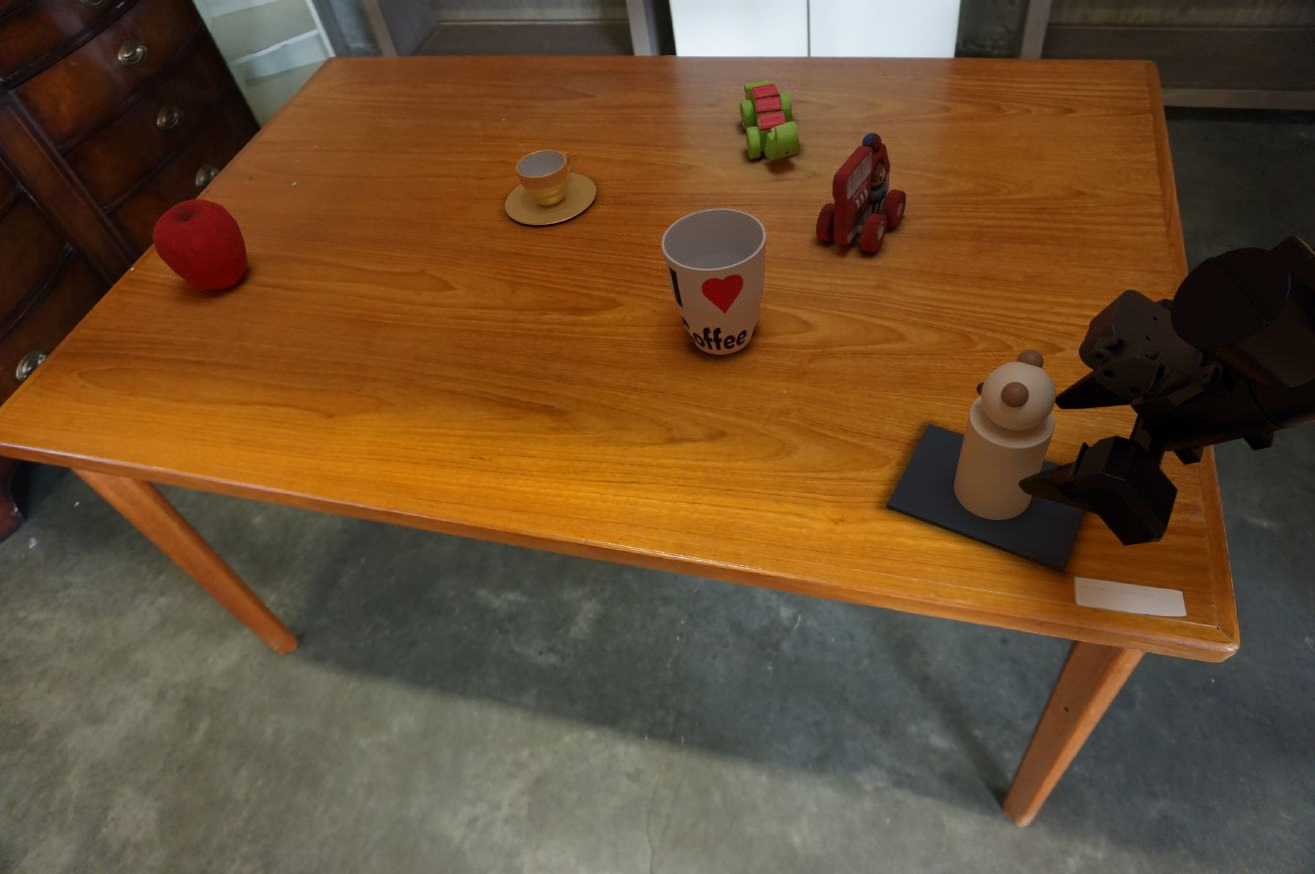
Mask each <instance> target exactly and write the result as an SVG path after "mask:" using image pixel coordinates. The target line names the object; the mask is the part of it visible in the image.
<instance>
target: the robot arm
mask: <svg viewBox="0 0 1315 874" xmlns="http://www.w3.org/2000/svg"><path fill="white" fill-rule="evenodd" d="M1088 326H1089V327H1088V329H1087V331H1086V335H1085V336H1084V339H1083V341H1082V342H1081V343H1080V345H1079V348H1078V356H1079V358H1080V360H1081V362H1082V363H1083V364H1084V365H1085V366H1086V367H1087V368H1089V369H1091V370H1092V371H1090V372H1089V373H1087V374H1086V375H1084V376H1083V377H1081V378H1080V379H1078V380H1077V381H1076V382H1074V383H1073V384H1071V385H1070V386H1068V387H1067V388H1065V389H1064V390H1063V391H1061V392H1060V393H1058V394H1056V399H1055V405H1056V406H1057V407H1058V408H1059V409H1060V410H1087V409H1099V408H1110V407H1111V408H1112V407H1121V406H1130V407H1131V408H1132V410H1133V412H1135V413H1136V414H1137V415H1136V418H1135V421H1134V424H1133V427H1132V429H1131V433H1130V436H1129V438H1126V437H1123V436H1119V435H1112V436H1108V437H1104V438H1103V437H1102V438H1100V439H1098V440H1097V441H1096V442H1095V443H1094V444H1092V445H1089V444H1088V443H1087V442H1086V441H1083V442H1082V443H1081V445H1080V448H1079V451H1078V453H1077V456H1076V458H1075V460H1074V461H1070V462H1068V463H1065V464H1062V465H1061V466H1058V467H1055V468H1052V469H1049V470H1046V471H1043V472H1040V473H1036V474H1034V475H1031V476H1029V477H1027V478H1024V479H1022V480H1020V481H1019V484H1018V485H1019V487H1020V488H1021V489H1022V490H1023V491H1024V492H1025V493H1026V494H1029V495H1032V496H1036V497H1040V498H1043V499H1047V500H1051V501H1054V502H1058V503H1061V504H1065V505H1069V506H1073V507H1076V508H1079V509H1082V510H1085V511H1086V512H1088V513H1091V514H1093V515H1095V516H1098V517H1099V518H1100V520H1101V521H1102V522H1103V523H1104V524H1105V525H1106V527H1107V528H1108V529H1109V530H1110V531H1111V532H1112V533H1113V534H1114V536H1115V537H1116V538H1117V540H1118V541H1119V542H1120V543H1121V544H1122V545H1123V547H1126V546H1135V545H1143V544H1150V543H1151V544H1152V543H1158V542H1161V541H1162V540H1163V537H1164V536H1165V533H1166V532H1167V530H1168V527H1169V524H1170V520H1171V516H1172V513H1173V509H1174V505H1175V502H1176V500H1177V495H1178V491H1179V489H1178V488H1177V487H1176V485H1175V484H1174V483H1173V482H1172V480H1171V479H1170V478H1169V477H1168V476H1167V474H1166V473H1165V472H1164V471H1163V470H1162V469H1161V468H1162V464H1163V461H1164V458H1165V454H1166V453H1170V452H1173V453H1174V454H1175V456H1176V457H1177V458H1178V459H1179V460H1180V462H1181V463H1182V465H1184V466H1187V465H1191V464H1192V465H1193V464H1196V463H1197V464H1198V463H1200V462H1201V461H1202V457H1203V453H1204V451H1205V447H1209V446H1210V447H1211V446H1213V445H1219V444H1223V443H1228V442H1232V441H1236V440H1242V439H1243V440H1244V441H1245V442H1246V444H1247V445H1248V446H1249V447H1250V449H1251V451H1253V452H1255V451H1259V450H1264V449H1268V448H1272V447H1273V444H1274V443H1273V442H1274V438H1275V433H1276V432H1278V431H1281V430H1287V429H1291V428H1295V427H1299V426H1305V425H1308V424H1314V423H1315V247H1313V248H1311V247H1310V246H1309V245H1308V244H1307V243H1306V242H1305V241H1304V240H1303V239H1301V237H1299V236H1297V235H1296V234H1293V235H1289V236H1287V237H1286V238H1285V239H1283V240H1282V241H1281V242H1279V243H1278V244H1277V245H1275V246H1274V247H1272V248H1271V249H1268V248H1263V247H1262V248H1261V247H1255V246H1253V247H1251V246H1249V247H1239V248H1235V249H1232V250H1228V251H1225V252H1223V253H1221V254H1219V255H1216V256H1210V257H1207V258H1206V259H1204V260H1203V261H1201V262H1200V263H1199V264H1198V265H1196V266H1195V267H1194V268H1193V269H1192V270H1191V271H1190V272H1189V273H1188V274H1187V275H1186V276H1185V278H1184V279H1183V280H1182V281H1181V283H1180V284H1179V286H1178V288H1177V290H1176V292H1175V294H1174V296H1173V299H1169V298H1162V299H1159V300H1157V301H1154V300H1153V299H1151V298H1149V297H1148V296H1146V295H1145V294H1143V293H1141V292H1139V291H1138V290H1134V289H1126V290H1124V291H1123V292H1122V293H1121V294H1120V295H1118V296H1116V298H1115V299H1114V300H1113V301H1111V302H1110V303H1109V304H1108V305H1107V306H1106V307H1104V308H1103V309H1102V310H1101V311H1100V312H1098V314H1096V315H1095V316H1094V317H1093V318H1092V319H1090V321H1089V324H1088ZM1085 511H1084V512H1085Z"/></svg>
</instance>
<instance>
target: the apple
mask: <svg viewBox="0 0 1315 874" xmlns="http://www.w3.org/2000/svg"><path fill="white" fill-rule="evenodd" d="M151 239H152V241H153V245H154V248H155V251H156V253H157V255H158V257H159V258H160V259H161V260H162V261H163V262H164V263H165V264H166V265H167V266H168V267H169V268H170V269H171V271H173V272H174V273H175V274H176V275H177V276H178V277H180V278H182V279H183V280H184V281H185V282H187V283H189V284H190V285H191V286H192V287H194V288H196V289H199V290H226V289H229V288H231V287H234V286H235V285H236V284H238V283H239V282H240V281H241V279H242V278H243V275H244V274H245V271H246V269H247V265H248V255H247V250H246V249H247V248H246V242H245V241H246V240H245V239H244V236H243V234H242V231H241V229H240V226H239V223H238V222H237V220H236V219H235V218H234V216H233V215H232V214H231V213H230V212H229V211H228V210H227V209H226V207H225V206H223V205H221V204H219V203H217V202H214V201H210V200H207V199H201V198H194V199H193V198H192V199H187V200H183V201H181V202H178V203H177V204H175V205H174V206H172V207H170V208H169V209H168V210H167V211H165V212H164V213H163V214H161V216H160V217H159V219H158V220H157V221H156V223H155V226H154V228H153V231H152V237H151Z"/></svg>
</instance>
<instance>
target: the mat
mask: <svg viewBox="0 0 1315 874" xmlns="http://www.w3.org/2000/svg"><path fill="white" fill-rule="evenodd" d="M964 435H965V434H962V433H959V432H956V431H953V430H950V429H946V428H943V427H941V426H937V425H935V424H930V423H929V424H928V425H927V427H926V429H925V431H924V432H923V434H922V436H921V438H920V440H919V442H918V444H917V446H916V448H915V450H914V452H913V454H912V455H911V457H910V459H909V461H908V463H907V465H906V466H905V469H904V471H903V472H902V474H901V476H900V478H899V481H898V482H897V484H896V486H895V488H894V490H893V492H892V494H891V495H890V498H889V500H888V501H887V503H886V508H888V509H890V510H894V511H896V512H899V513H901V514H904V515H906V516H909V517H912V518H915V519H917V520H921V521H923V522H926V523H928V524H931V525H934V526H937V527H939V528H942V529H945V530H947V531H950V532H953V533H956V534H959V535H961V536H964V537H966V538H970V539H972V540H975V541H978V542H980V543H983V544H986V545H988V546H990V547H994V548H996V549H1000V550H1002V551H1005V552H1007V553H1010V554H1013V555H1015V556H1018V557H1021V558H1024V559H1026V560H1028V561H1032V562H1034V563H1037V564H1040V565H1043V566H1045V567H1048V568H1051V569H1053V570H1056V571H1059V572H1062V573H1063V572H1064V570H1065V567H1066V565H1067V562H1068V559H1069V556H1070V553H1071V551H1072V547H1073V545H1074V542H1075V539H1076V536H1077V533H1078V530H1079V528H1080V525H1081V522H1082V519H1083V517H1084V514H1085V510H1082V509H1079V508H1076V507H1073V506H1069V505H1065V504H1061V503H1058V502H1054V501H1051V500H1047V499H1043V498H1040V497H1036V496H1032V497H1031V500H1030V503H1029V505H1028V507H1027V508H1026V509H1025V510H1024V511H1023V512H1022V513H1021V514H1019V515H1017V516H1015V517H1013V518H1010V519H1005V520H991V519H986V518H982V517H979V516H977V515H975V514H973V513H971V512H970V511H968V510H967V509H966V508H964V507H963V506H962V505H961V504H960V502H959V501H958V499H957V497H956V495H955V492H954V481H955V477H956V472H957V467H958V463H959V458H960V453H961V449H962V444H963V440H964ZM1058 466H1061V465H1060V464H1057V463H1054V462H1051V461H1048V460H1045V459H1044V461H1043V464H1042V467H1041V470H1040V472H1043V471H1046V470H1049V469H1052V468H1055V467H1058Z"/></svg>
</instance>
